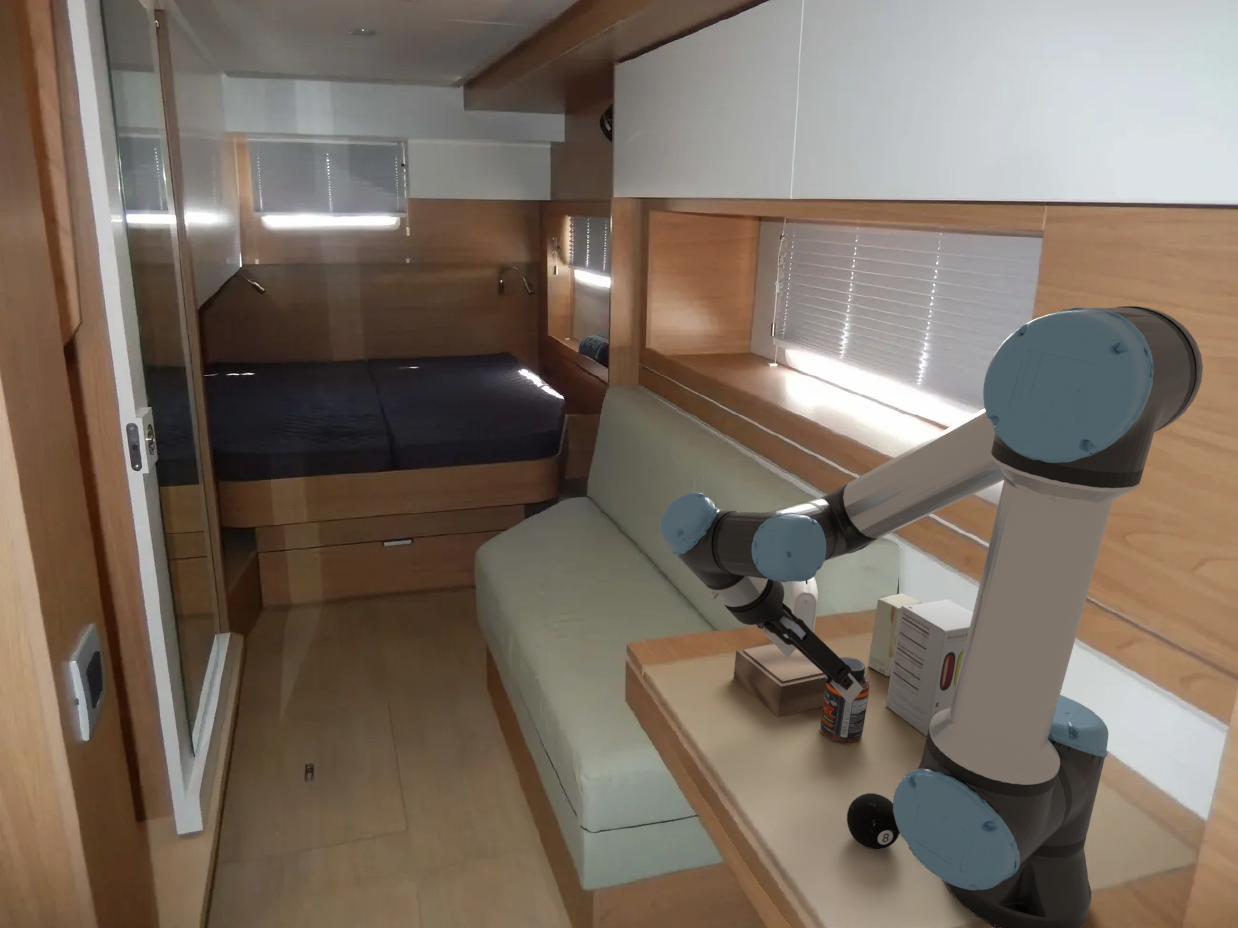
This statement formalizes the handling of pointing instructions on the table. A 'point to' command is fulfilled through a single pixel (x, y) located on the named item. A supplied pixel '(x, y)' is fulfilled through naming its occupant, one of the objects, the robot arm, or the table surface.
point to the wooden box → (780, 679)
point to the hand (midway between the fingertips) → (822, 671)
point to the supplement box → (927, 660)
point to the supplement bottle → (845, 708)
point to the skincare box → (887, 631)
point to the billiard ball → (872, 821)
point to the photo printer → (804, 601)
